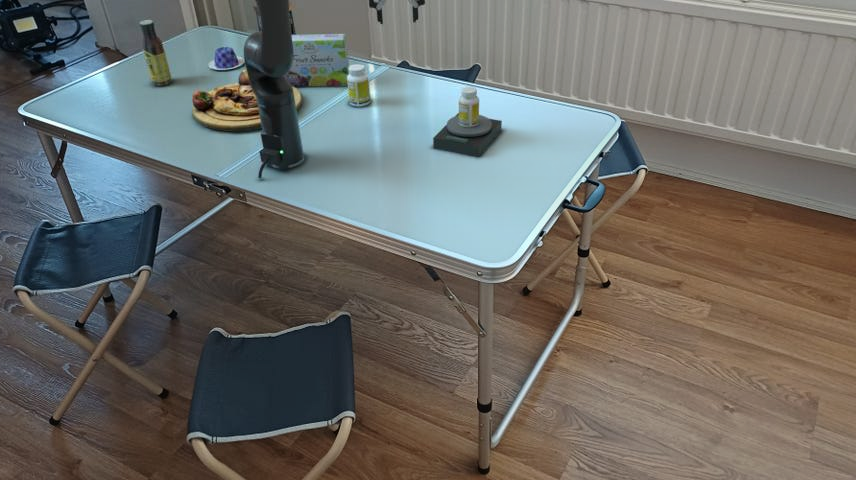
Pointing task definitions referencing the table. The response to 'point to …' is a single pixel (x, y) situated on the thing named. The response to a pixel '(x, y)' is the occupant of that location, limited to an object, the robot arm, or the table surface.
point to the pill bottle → (358, 86)
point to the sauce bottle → (155, 55)
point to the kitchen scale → (467, 136)
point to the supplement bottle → (468, 107)
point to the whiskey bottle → (289, 14)
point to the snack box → (319, 60)
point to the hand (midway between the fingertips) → (398, 22)
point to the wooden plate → (231, 106)
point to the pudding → (225, 59)
